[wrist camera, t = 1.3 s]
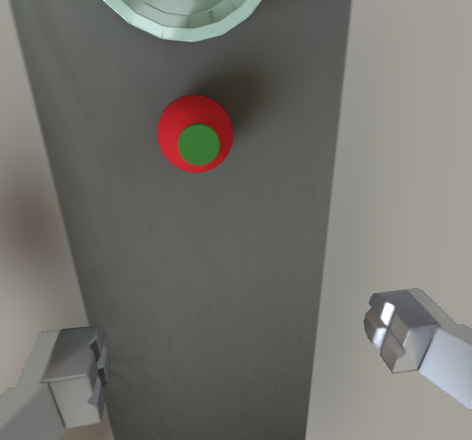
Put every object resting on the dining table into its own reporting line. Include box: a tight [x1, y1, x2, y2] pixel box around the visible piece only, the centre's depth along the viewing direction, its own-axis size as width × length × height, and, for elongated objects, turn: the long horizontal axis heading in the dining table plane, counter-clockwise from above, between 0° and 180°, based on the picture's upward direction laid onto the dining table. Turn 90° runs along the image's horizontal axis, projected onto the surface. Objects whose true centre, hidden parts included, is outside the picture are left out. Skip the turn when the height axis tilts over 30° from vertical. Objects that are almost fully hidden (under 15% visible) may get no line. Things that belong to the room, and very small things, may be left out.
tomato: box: [157, 95, 233, 173], centre depth 21 cm, size 5×5×5 cm
